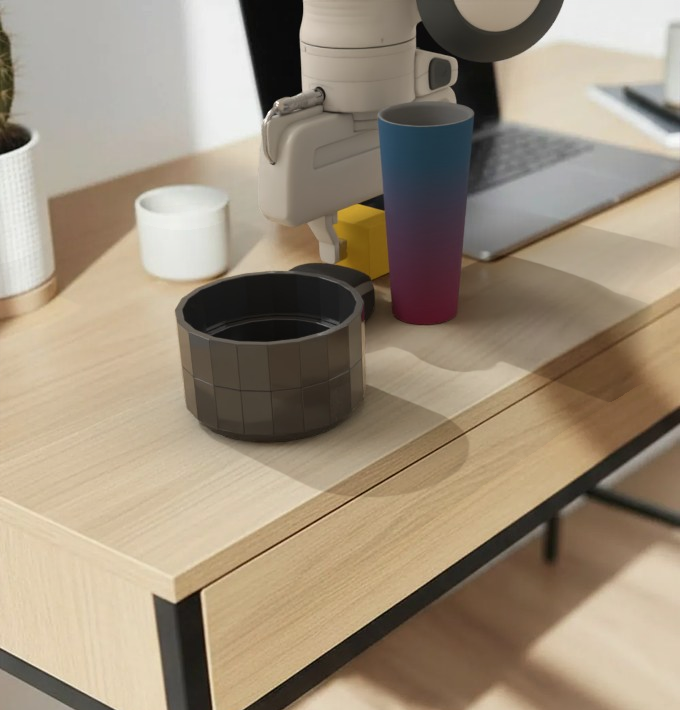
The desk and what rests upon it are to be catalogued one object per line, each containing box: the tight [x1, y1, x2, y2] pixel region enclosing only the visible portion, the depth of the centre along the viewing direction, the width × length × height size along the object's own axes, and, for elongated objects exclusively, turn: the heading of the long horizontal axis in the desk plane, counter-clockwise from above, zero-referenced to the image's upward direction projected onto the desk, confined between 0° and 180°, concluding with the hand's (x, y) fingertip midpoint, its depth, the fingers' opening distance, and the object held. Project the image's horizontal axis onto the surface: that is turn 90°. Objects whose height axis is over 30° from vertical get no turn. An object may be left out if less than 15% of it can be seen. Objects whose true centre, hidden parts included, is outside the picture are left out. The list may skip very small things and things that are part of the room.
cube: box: [333, 203, 389, 281], centre depth 100 cm, size 5×4×4 cm
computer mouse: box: [287, 262, 376, 322], centre depth 90 cm, size 7×12×4 cm, turn 149°
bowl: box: [174, 270, 367, 443], centre depth 79 cm, size 12×12×7 cm
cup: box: [378, 101, 475, 325], centre depth 89 cm, size 7×7×15 cm
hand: (363, 248), depth 100 cm, fingers open, 6 cm apart
